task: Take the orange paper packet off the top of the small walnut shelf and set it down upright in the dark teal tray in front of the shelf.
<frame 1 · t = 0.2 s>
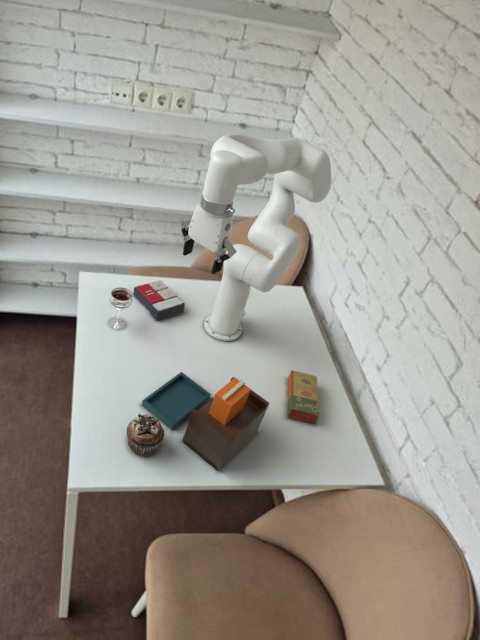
hand: (201, 262, 138), 37 cm above the table, tool pointing down, fingers open, 9 cm apart
tray: (176, 402, 150), on the table
cupcake: (142, 443, 137), on the table
shelf: (220, 437, 143), on the table
packet: (226, 410, 137), point 10 cm above the table, touching shelf
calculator: (157, 303, 181), on the table
carton: (300, 401, 159), on the table
wineglass: (117, 324, 170), on the table
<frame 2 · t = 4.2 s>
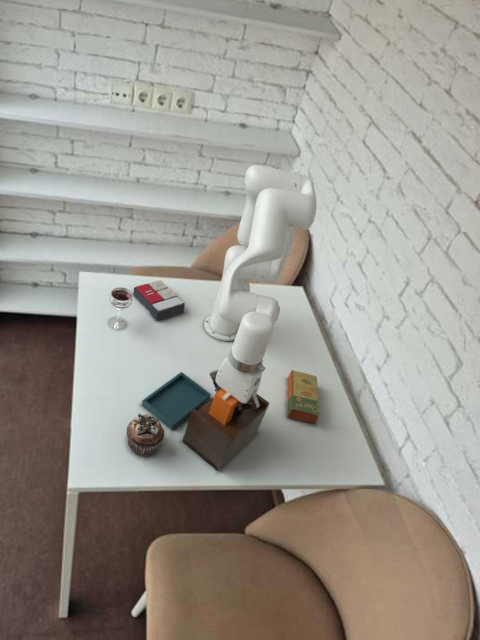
hand: (227, 408, 137), 11 cm above the table, tool pointing down, fingers closed on packet, 5 cm apart
packet: (226, 410, 137), point 10 cm above the table, touching gripper, shelf
everything else where it was.
when the fingers open (2 cm above the table, at t = 11.6 s): packet stays where it is, resting on tray.
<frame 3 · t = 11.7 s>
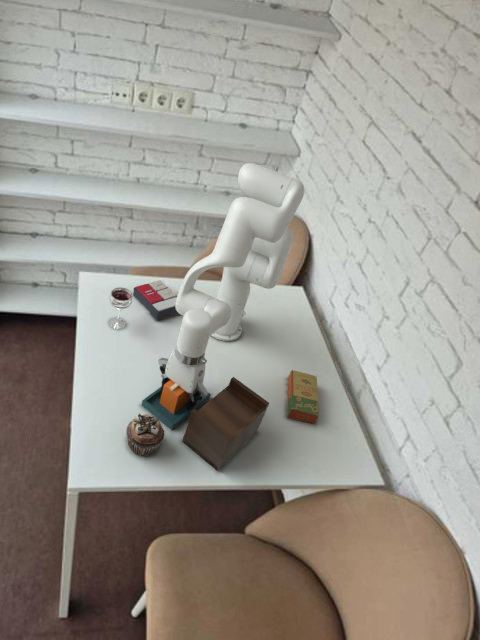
hand: (177, 396, 148), 2 cm above the table, tool pointing down, fingers open, 8 cm apart
packet: (176, 401, 149), point 1 cm above the table, touching tray
everything else where it was.
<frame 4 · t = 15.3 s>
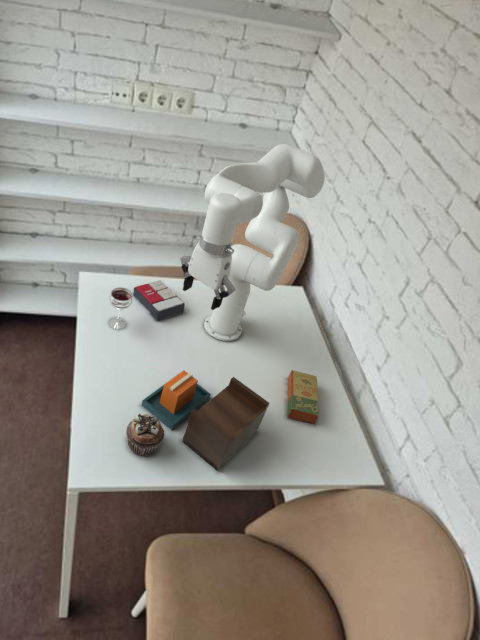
hand: (200, 298, 141), 28 cm above the table, tool pointing down, fingers open, 9 cm apart
nothing on the table moved.
at the end: packet 0.1 cm off-centre in the tray, point 0.6 cm above the tray's base; packet touching tray; packet tilted 0° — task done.
